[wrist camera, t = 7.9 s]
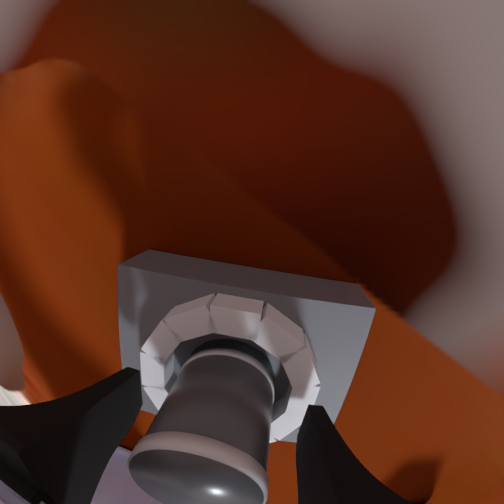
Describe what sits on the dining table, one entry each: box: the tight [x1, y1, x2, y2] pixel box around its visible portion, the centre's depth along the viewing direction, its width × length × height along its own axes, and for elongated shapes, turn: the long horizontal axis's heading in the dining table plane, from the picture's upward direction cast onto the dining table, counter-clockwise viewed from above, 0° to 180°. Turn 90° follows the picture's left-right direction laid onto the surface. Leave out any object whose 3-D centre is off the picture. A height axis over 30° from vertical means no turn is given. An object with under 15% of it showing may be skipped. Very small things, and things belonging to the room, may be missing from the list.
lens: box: [127, 339, 275, 504], centre depth 10 cm, size 5×5×7 cm
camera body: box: [118, 249, 376, 443], centre depth 15 cm, size 12×9×5 cm
